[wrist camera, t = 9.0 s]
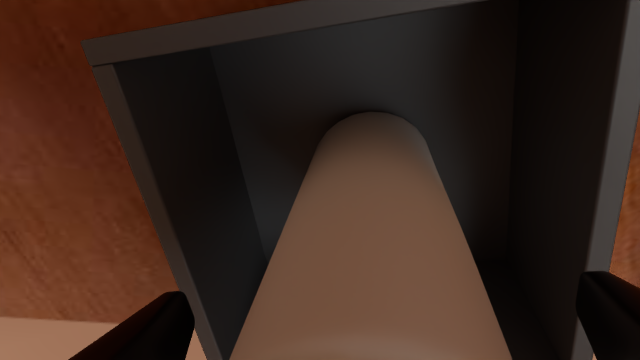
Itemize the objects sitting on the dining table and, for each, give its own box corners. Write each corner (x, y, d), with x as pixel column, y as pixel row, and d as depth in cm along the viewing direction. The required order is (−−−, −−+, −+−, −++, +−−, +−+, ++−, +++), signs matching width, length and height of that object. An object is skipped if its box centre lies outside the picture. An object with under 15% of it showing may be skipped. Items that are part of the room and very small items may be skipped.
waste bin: (514, 260, 18) (587, 391, 12) (263, 273, 20) (218, 391, 14) (532, -37, 13) (675, -68, 7) (194, 23, 15) (78, 40, 9)
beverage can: (368, 81, 14) (348, 312, 4) (458, 161, 15) (661, 545, 4) (292, 168, 16) (128, 488, 6) (375, 235, 17) (374, 628, 6)
